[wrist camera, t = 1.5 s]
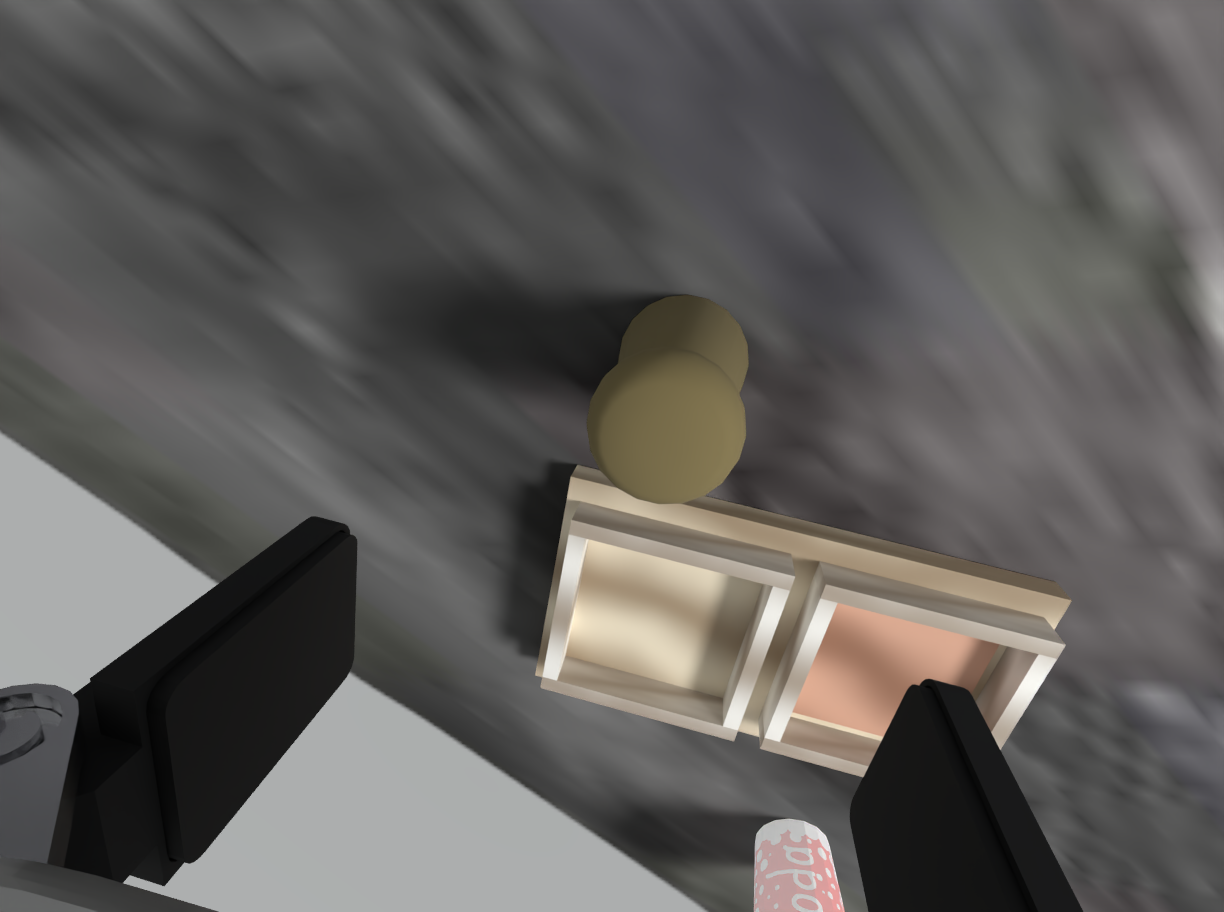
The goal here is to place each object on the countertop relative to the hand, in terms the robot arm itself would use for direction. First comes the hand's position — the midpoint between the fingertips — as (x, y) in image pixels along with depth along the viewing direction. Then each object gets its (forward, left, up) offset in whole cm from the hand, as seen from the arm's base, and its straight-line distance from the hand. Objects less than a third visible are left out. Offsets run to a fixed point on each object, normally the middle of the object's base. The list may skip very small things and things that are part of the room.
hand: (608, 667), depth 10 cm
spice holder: (+13, +8, -20) cm, 25 cm away
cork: (0, 0, -21) cm, 21 cm away
